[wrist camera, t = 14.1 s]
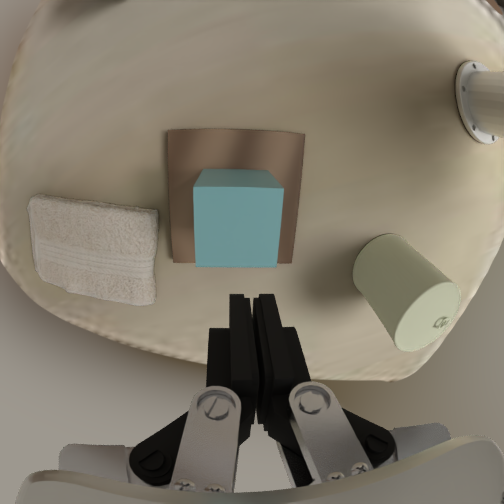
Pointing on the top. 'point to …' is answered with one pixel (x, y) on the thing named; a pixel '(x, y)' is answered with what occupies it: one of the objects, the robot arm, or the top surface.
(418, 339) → the can
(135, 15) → the top surface
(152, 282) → the washcloth
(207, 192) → the teal block
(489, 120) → the robot arm
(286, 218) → the post board
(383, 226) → the top surface
